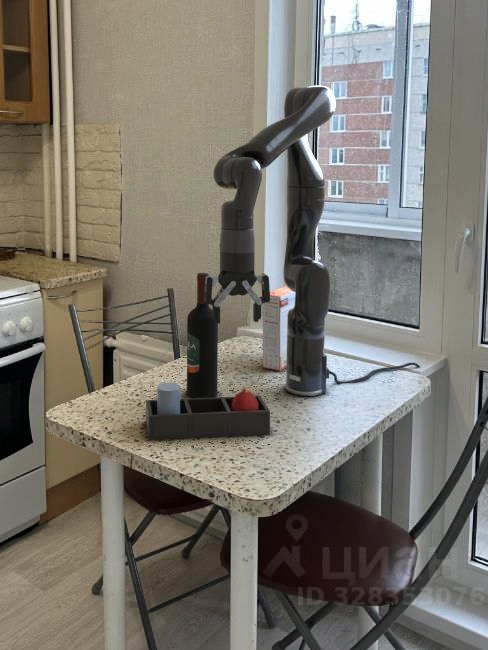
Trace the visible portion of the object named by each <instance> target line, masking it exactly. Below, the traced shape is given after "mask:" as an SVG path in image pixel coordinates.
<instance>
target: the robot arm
mask: <svg viewBox="0 0 488 650" xmlns="http://www.w3.org/2000/svg"><path fill="white" fill-rule="evenodd" d="M283 109H284V110H283V111H284V112H283V115H284V118H281V119H280V120H277V121H276V122H273V123H271V124H269V125H268V126H266V127H264V128H263V129H261V130H260V131H259V132H257V134H254V136H253V137H252V138H250V139H249V141H247V142H246V143H245V144H243V145H241V146H238V147H236V148H234V149H233V150H231V151H229V152H227V153H226V154H223V155H222V156H221V157H220V158H219V159H218V161H217V162H216V163H215V165H214V168H213V172H212V173H213V174H212V175H213V176H212V177H213V180H214V183H215V184H216V185H217V186H218V187H220V188H222V189H224V190H236V192H235V195H234V198H233V199H231V200H227V201H224V202H223V203H222V205H221V209H220V233H219V234H220V236H219V244H218V246H219V274H218V276H212V275H210V274H209V275H207V276H206V277H205V291H204V301H205V302H206V303H207V304H209V306H212V308H211V309H212V314H213V315H212V317H213V319H214V321H216V323H217V324H218V325H219V324H221V306H220V305H221V304H222V303H223V301H224V300H226V298H227V297H228V295H229V296H230V297H235V296H246V295H247V294H248V295H249V297H250V298H251V299H252V300H253V302H254V303H253V304H252V321H253V322H254V323H259V322H260V320H261V319H262V307H263V303H265V302H269V301H270V292H271V290H270V289H271V288H270V286H271V285H270V277H269V276H268V274H266V273H265V272H264V273H261V274H256V273H255V246H256V245H255V243H256V242H255V241H256V240H255V239H256V238H255V231H254V223H255V222H254V217H255V215H254V211H255V207H256V202H257V198H258V195H259V191H260V187H261V183H262V178H263V171H262V170H264V169H266V168H268V167H269V166H270V165H271V164H272V163H273V162H275V161H276V160H277V159H278V158H279V157H280V156H281V155H282V154H283V153H284V152H285V151H286V157H287V162H286V163H287V174H286V175H287V176H286V244H285V252H284V253H285V254H284V262H283V271H282V273H283V282H284V284H285V286H287V287H288V288H289V289H290V290H292V291H293V292H295V305H294V308H292V309H290V310H289V311H288V316H287V364H286V368H285V370H286V371H285V390H286V391H287V392H289V393H290V394H292V395H296V396H301V397H314V396H316V397H317V396H320V395H322V394H327V379H330V375H331V376H333V381H334V383H336V384H340V385H341V384H353V383H358V382H361V381H364V380H367V379H369V378H370V377H371V376H372V375H373V374H375V373H378V372H383V371H391V370H399V369H403V368H406V367H409V366H415V367H417V368H418V369H419V368H421V366H420V365H419V364H418V363H416V362H407V363H405V364H401V365H397V366H386V367H381V368H376V369H373V370H371V371H370V372H368V374H367V375H365V376H362V377H358V378H355V379H351V380H347V381H341V380H338V376H337V374H336V373H335V372H333V371H331V370H330V368H329V367H328V366H327V365H328V356H327V355H326V354H325V339H326V337H325V335H326V317H327V315H328V313H329V308H330V295H331V274H330V271H329V269H328V267H327V266H326V265H325V264H324V263H322V262H320V261H318V260H315V253H314V250H315V249H314V248H315V247H314V245H315V244H314V241H315V234H316V230H317V228H318V226H319V223H320V222H321V221H320V220H321V218H322V215H323V212H324V210H325V200H326V180H325V179H326V178H325V175H324V173H323V171H322V169H321V166H320V165H319V163H318V161H317V159H316V157H315V156H314V154H313V152H312V150H311V147H310V144H309V139H308V138H309V136H308V134H310V133H312V132H313V131H314V130H316V129H317V128H319V127H321V126H323V125H325V124H326V123H327V122H329V121H330V120H331V119H332V117H333V116H334V113H335V109H336V98H335V94H334V93H333V90H331V89H330V88H329V87H328V86H324V85H310V86H296V87H292V88H291V89H289V90H288V91H287V93H286V95H285V98H284V106H283ZM257 281H258V284H259V285H260V286H261V296H258V294H257V293H256V291H255V290H254V289H253V286H254V285H255V284H256V282H257ZM217 283H219V285H220V286H221V287H220V288H219V290H218V291H217V293H216V295H215V296H214V298H213V297H212V295H213V287H215V286H216V284H217Z"/></svg>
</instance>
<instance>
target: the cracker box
mask: <svg viewBox="0 0 488 650" xmlns="http://www.w3.org/2000/svg"><path fill="white" fill-rule="evenodd" d="M294 305H295V292H293V291H292V290H290V289H289V288H288V287H287V285H285V286H282V287H279V288H276V289H274V290H270V301H269V302H265V303H263V304H262V368H263V369H267V370H273V371H278V372H281V371H283V370H286V364H287V316H288V311H289V310H290V309H292V308H294Z"/></svg>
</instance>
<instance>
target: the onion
mask: <svg viewBox="0 0 488 650" xmlns="http://www.w3.org/2000/svg"><path fill="white" fill-rule="evenodd" d="M255 396H256V395H255V394H254V393H252V392H251V391H249V389H248V388H247V387H243V389H242V390H241V391H239V392H238V393H237V394H235V395H234V396H233V397H234V399H233V401H232V411H255V410H258V408H259V407H258V402H257V399H256V398H255Z"/></svg>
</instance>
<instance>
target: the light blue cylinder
mask: <svg viewBox="0 0 488 650" xmlns="http://www.w3.org/2000/svg"><path fill="white" fill-rule="evenodd" d="M180 399H181V385H180V384H179V383H175V382H162V383H159V384H157V386H156V400H157V415H162V414H180Z"/></svg>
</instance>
